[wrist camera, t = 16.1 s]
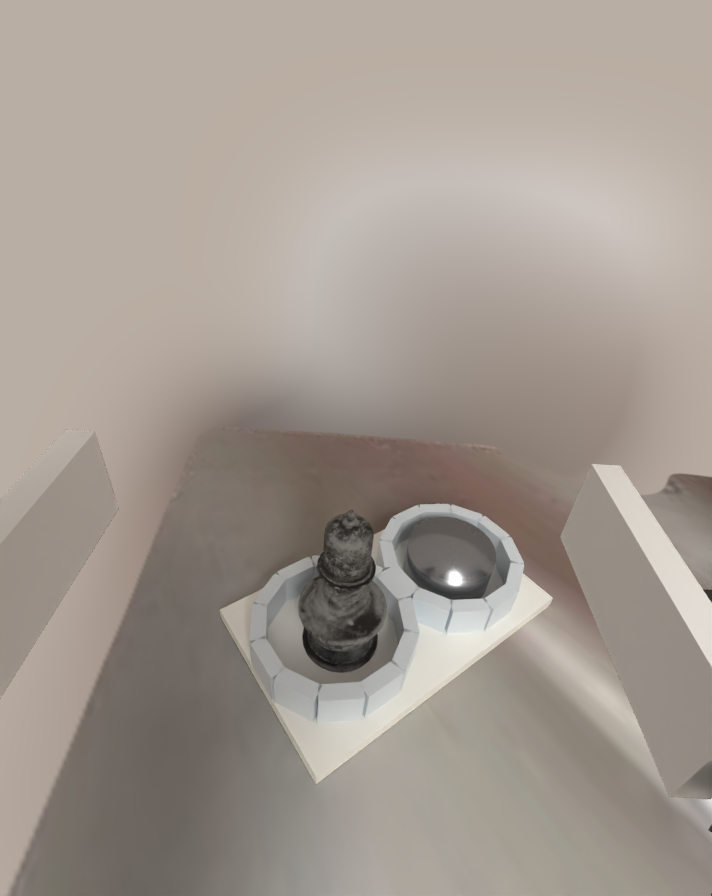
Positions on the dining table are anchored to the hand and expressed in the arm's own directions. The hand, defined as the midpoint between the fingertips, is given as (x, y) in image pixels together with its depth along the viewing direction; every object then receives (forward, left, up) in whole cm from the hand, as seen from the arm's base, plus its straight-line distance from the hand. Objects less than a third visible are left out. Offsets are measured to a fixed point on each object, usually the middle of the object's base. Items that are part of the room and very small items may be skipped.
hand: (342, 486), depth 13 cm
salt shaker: (-7, -7, -22) cm, 24 cm away
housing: (-12, -7, -23) cm, 27 cm away
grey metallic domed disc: (-17, -7, -23) cm, 30 cm away
